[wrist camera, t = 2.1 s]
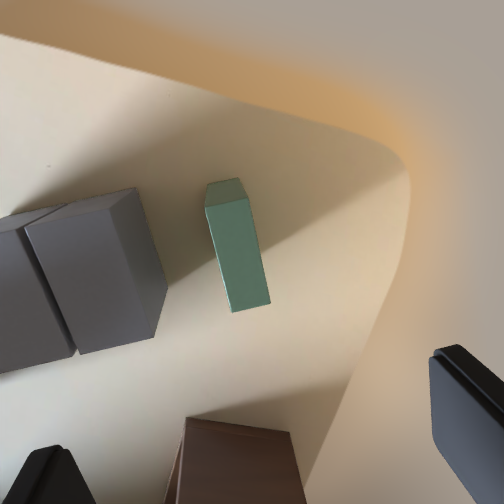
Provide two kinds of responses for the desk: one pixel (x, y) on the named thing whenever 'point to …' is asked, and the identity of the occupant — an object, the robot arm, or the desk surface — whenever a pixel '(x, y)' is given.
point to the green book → (236, 245)
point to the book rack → (233, 466)
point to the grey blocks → (77, 280)
